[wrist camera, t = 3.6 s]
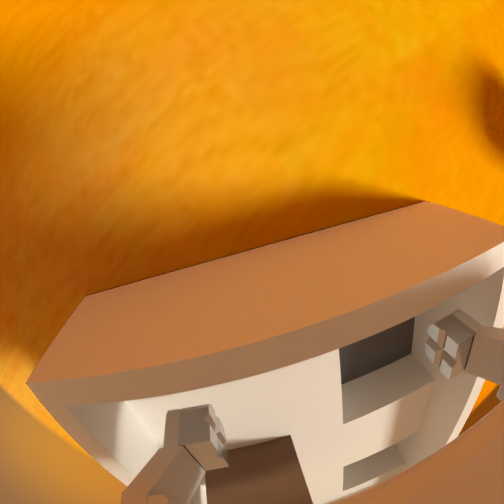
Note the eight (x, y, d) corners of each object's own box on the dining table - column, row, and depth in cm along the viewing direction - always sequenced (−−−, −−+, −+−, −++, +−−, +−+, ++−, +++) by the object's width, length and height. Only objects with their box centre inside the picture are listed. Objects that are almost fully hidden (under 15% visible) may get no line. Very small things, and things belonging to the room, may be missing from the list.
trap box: (85, 296, 11) (26, 382, 6) (426, 201, 12) (520, 232, 7) (234, 503, 20) (242, 551, 14) (396, 451, 21) (420, 491, 15)
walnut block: (203, 454, 12) (209, 528, 7) (290, 434, 12) (314, 508, 8) (229, 484, 13) (238, 543, 9) (300, 468, 13) (320, 526, 9)
